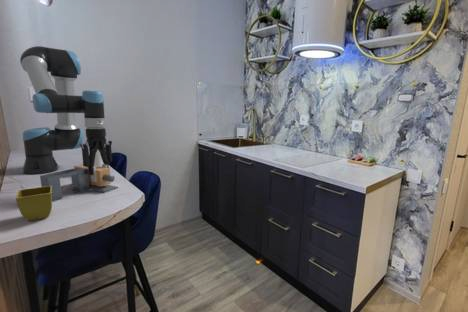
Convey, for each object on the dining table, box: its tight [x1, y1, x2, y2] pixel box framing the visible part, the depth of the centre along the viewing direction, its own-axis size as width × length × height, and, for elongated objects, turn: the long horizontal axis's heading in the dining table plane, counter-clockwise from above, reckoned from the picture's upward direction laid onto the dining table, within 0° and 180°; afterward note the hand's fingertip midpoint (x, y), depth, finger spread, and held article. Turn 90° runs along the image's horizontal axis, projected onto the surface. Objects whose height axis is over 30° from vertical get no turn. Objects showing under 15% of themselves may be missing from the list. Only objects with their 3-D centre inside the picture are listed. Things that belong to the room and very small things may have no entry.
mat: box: [70, 183, 119, 194], centre depth 111 cm, size 22×7×1 cm, turn 66°
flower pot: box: [15, 186, 53, 222], centre depth 79 cm, size 9×9×9 cm
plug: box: [73, 163, 115, 186], centre depth 110 cm, size 21×5×7 cm, turn 66°
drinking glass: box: [94, 150, 104, 167], centre depth 131 cm, size 7×7×15 cm
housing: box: [39, 167, 90, 203], centre depth 99 cm, size 5×16×10 cm, turn 156°
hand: (99, 179), depth 109 cm, fingers closed on plug, 5 cm apart
